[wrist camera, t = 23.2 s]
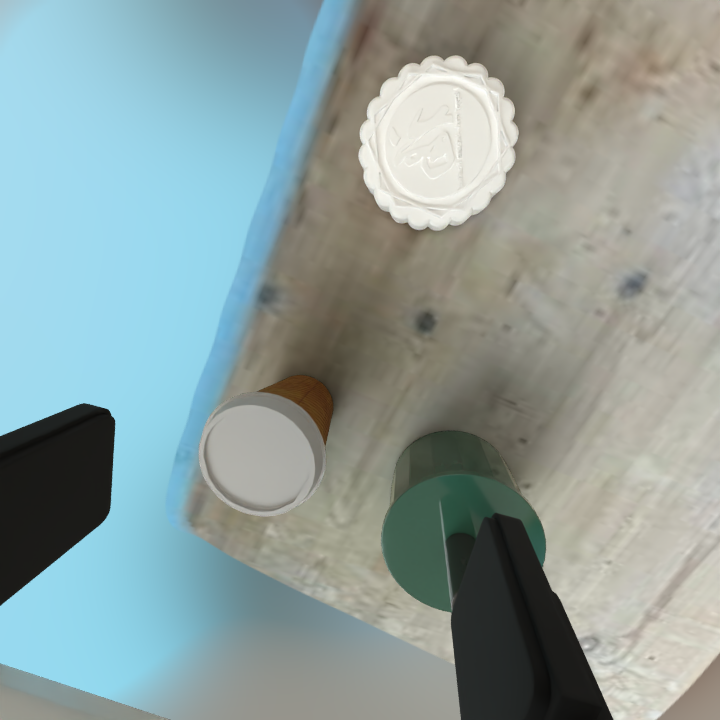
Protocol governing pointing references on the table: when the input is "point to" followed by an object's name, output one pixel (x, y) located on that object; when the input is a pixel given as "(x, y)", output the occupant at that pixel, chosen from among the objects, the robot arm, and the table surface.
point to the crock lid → (447, 531)
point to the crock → (448, 459)
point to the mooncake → (438, 142)
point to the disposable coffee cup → (268, 446)
